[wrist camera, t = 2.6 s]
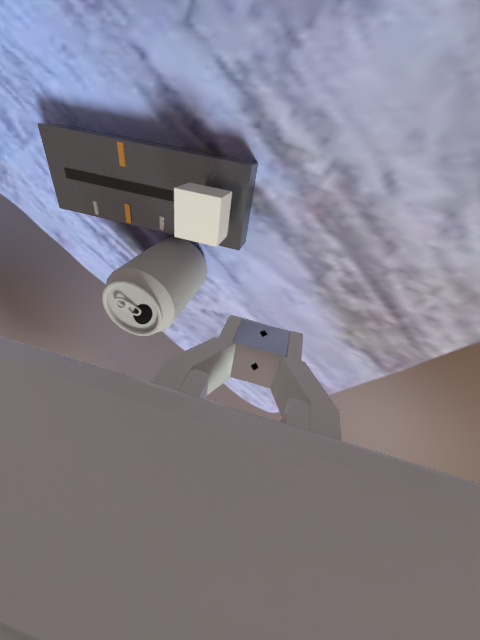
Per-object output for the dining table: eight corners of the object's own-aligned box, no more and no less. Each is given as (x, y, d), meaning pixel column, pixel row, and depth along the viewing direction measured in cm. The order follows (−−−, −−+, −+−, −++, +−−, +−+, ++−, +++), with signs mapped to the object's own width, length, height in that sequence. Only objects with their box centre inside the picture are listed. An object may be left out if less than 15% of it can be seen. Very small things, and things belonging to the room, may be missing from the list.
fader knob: (197, 179, 25) (173, 187, 21) (237, 188, 24) (221, 198, 20) (195, 222, 27) (174, 236, 23) (231, 230, 27) (216, 246, 23)
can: (191, 298, 37) (147, 353, 27) (147, 264, 35) (85, 310, 26) (220, 262, 33) (180, 313, 23) (171, 221, 31) (107, 258, 22)
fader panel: (61, 124, 28) (36, 123, 25) (257, 163, 26) (251, 165, 23) (78, 202, 33) (59, 208, 30) (245, 241, 30) (239, 250, 28)
